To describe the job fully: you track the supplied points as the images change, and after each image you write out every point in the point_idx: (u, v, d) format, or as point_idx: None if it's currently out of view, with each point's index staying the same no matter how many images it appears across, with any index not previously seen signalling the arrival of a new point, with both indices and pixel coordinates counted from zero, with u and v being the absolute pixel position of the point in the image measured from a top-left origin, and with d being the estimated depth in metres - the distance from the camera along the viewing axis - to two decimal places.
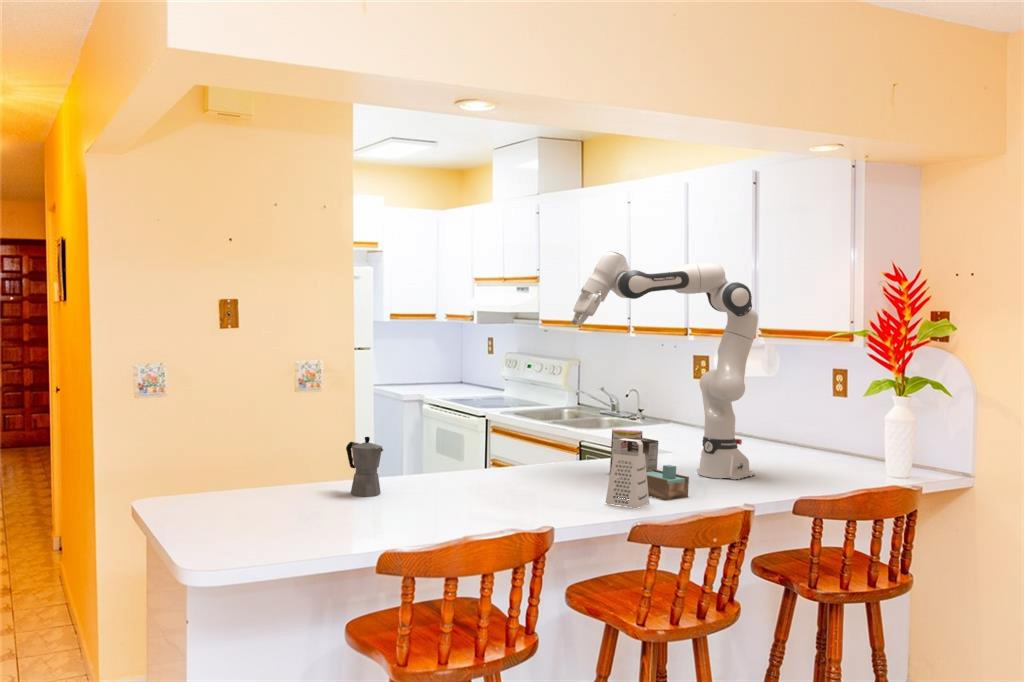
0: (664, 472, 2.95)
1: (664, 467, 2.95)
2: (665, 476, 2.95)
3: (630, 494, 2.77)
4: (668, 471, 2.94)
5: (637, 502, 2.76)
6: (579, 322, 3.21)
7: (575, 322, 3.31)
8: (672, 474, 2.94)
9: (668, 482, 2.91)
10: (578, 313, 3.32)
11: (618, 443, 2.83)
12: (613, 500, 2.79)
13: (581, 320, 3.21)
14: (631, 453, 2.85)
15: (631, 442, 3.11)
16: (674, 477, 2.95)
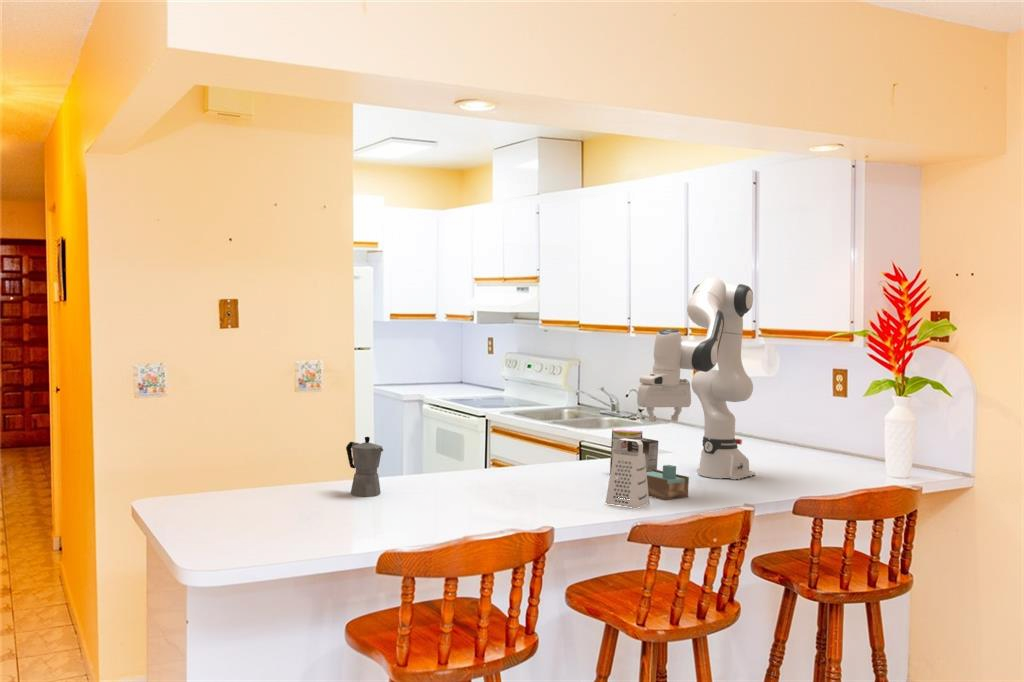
0: (664, 472, 2.95)
1: (664, 467, 2.95)
2: (665, 476, 2.95)
3: (630, 494, 2.77)
4: (668, 471, 2.94)
5: (637, 502, 2.76)
6: None
7: None
8: (672, 474, 2.94)
9: (668, 482, 2.91)
10: None
11: (618, 443, 2.83)
12: (613, 500, 2.79)
13: None
14: (631, 453, 2.85)
15: (631, 442, 3.11)
16: (674, 477, 2.95)
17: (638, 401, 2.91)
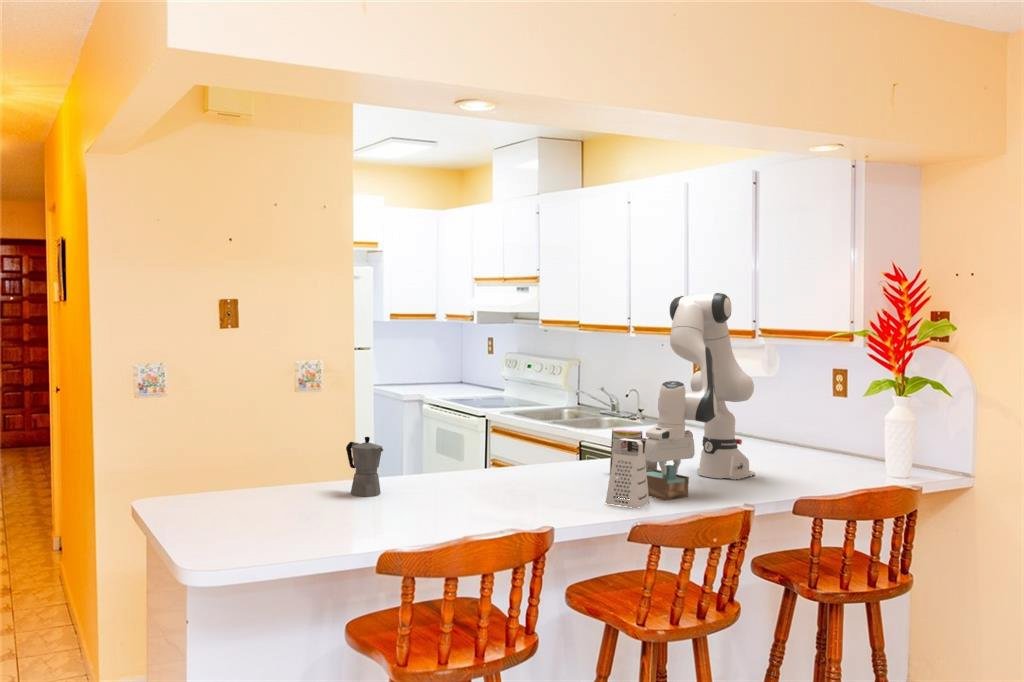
0: None
1: None
2: (665, 476, 2.95)
3: (630, 494, 2.77)
4: (668, 471, 2.94)
5: (637, 502, 2.76)
6: None
7: None
8: (672, 474, 2.94)
9: (668, 482, 2.91)
10: None
11: (618, 443, 2.83)
12: (613, 500, 2.79)
13: None
14: (631, 453, 2.85)
15: (631, 442, 3.11)
16: (674, 477, 2.95)
17: (645, 456, 2.90)
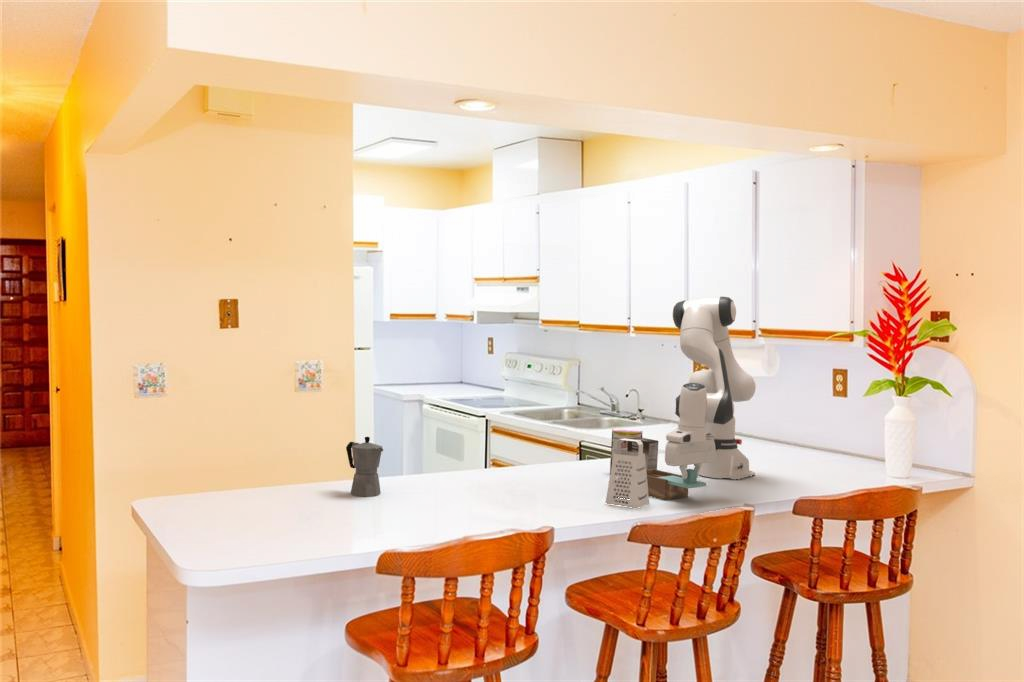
0: None
1: None
2: (686, 480, 2.87)
3: (630, 494, 2.77)
4: (689, 475, 2.86)
5: (637, 502, 2.76)
6: None
7: None
8: (693, 479, 2.87)
9: (689, 486, 2.83)
10: None
11: (618, 443, 2.83)
12: (613, 500, 2.79)
13: None
14: (631, 453, 2.85)
15: (631, 442, 3.11)
16: (695, 481, 2.88)
17: (666, 460, 2.83)
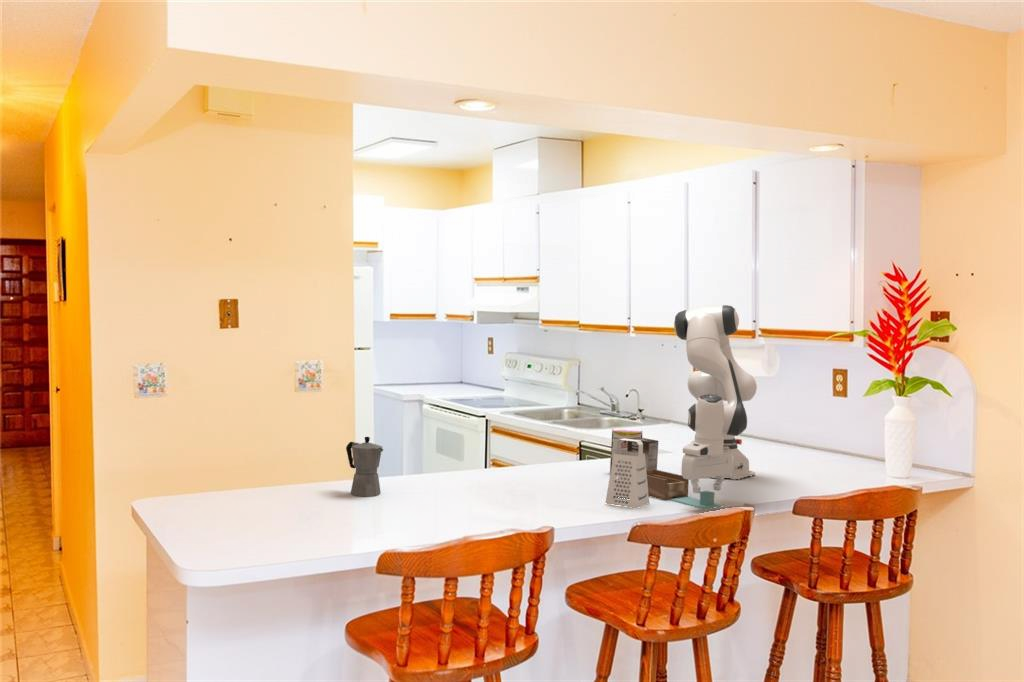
0: (702, 498, 2.82)
1: (702, 493, 2.82)
2: (703, 503, 2.82)
3: (630, 494, 2.77)
4: (706, 497, 2.81)
5: (637, 502, 2.76)
6: None
7: None
8: (710, 501, 2.81)
9: None
10: None
11: (618, 443, 2.83)
12: (613, 500, 2.79)
13: None
14: (631, 453, 2.85)
15: (631, 442, 3.11)
16: (712, 504, 2.82)
17: (683, 473, 2.77)
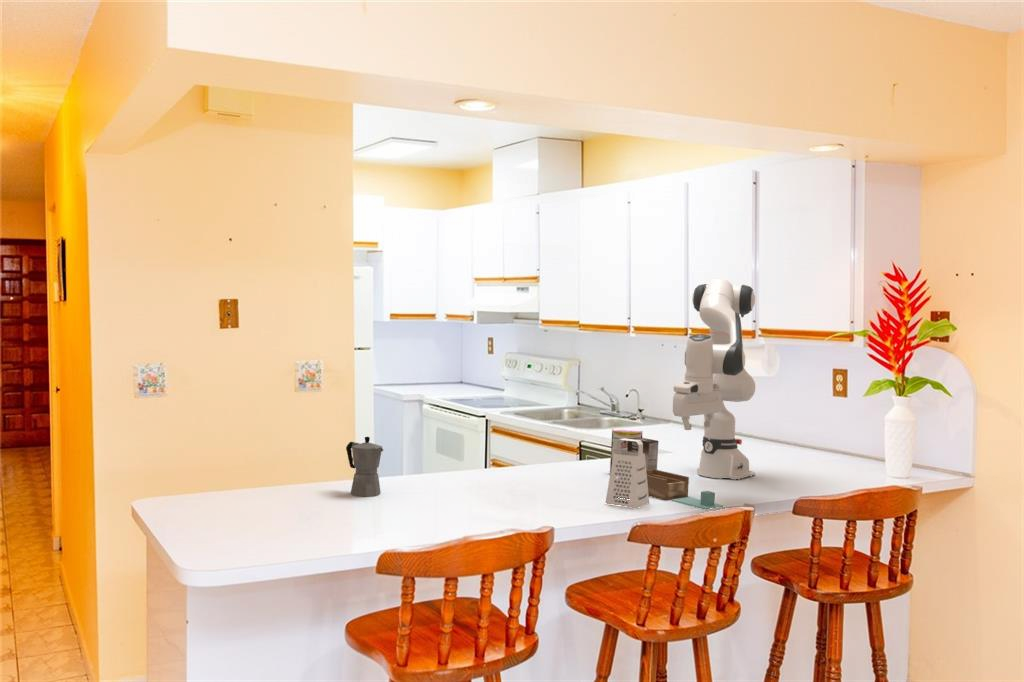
0: (702, 499, 2.82)
1: (702, 493, 2.82)
2: (703, 503, 2.82)
3: (630, 494, 2.77)
4: (707, 498, 2.81)
5: (637, 502, 2.76)
6: None
7: None
8: (710, 501, 2.81)
9: None
10: None
11: (618, 443, 2.83)
12: (613, 500, 2.79)
13: None
14: (631, 453, 2.85)
15: (631, 442, 3.11)
16: (713, 504, 2.82)
17: (674, 411, 2.84)
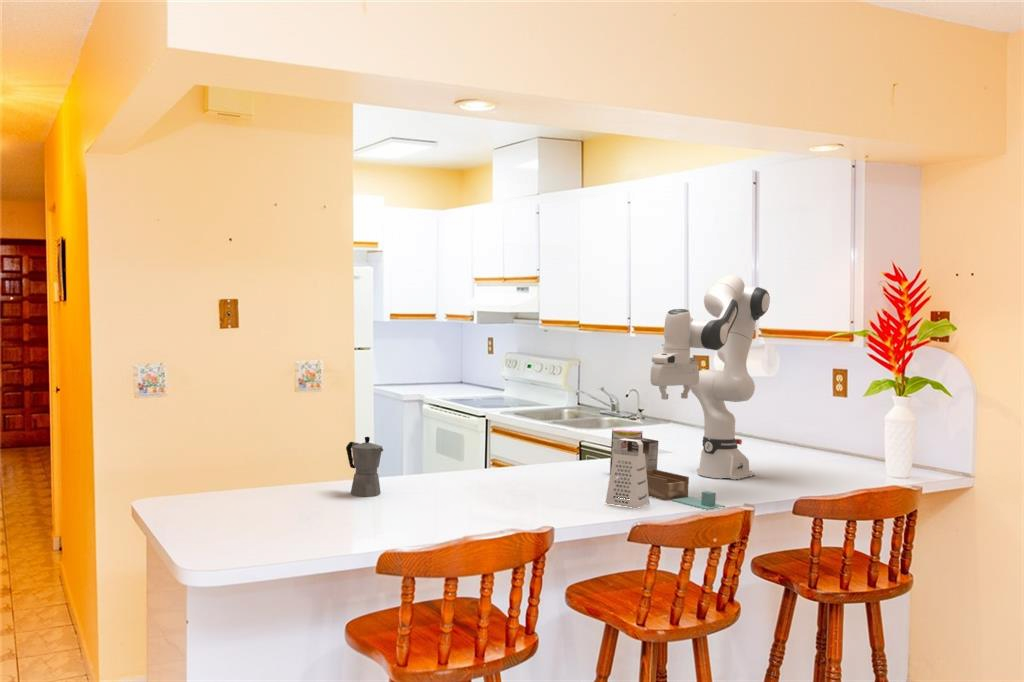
0: (703, 499, 2.82)
1: (703, 494, 2.82)
2: (704, 503, 2.81)
3: (630, 494, 2.77)
4: (707, 498, 2.80)
5: (637, 502, 2.76)
6: None
7: None
8: (711, 502, 2.81)
9: None
10: None
11: (618, 443, 2.83)
12: (613, 500, 2.79)
13: None
14: (631, 453, 2.85)
15: (631, 442, 3.11)
16: (713, 504, 2.82)
17: (651, 380, 2.98)
